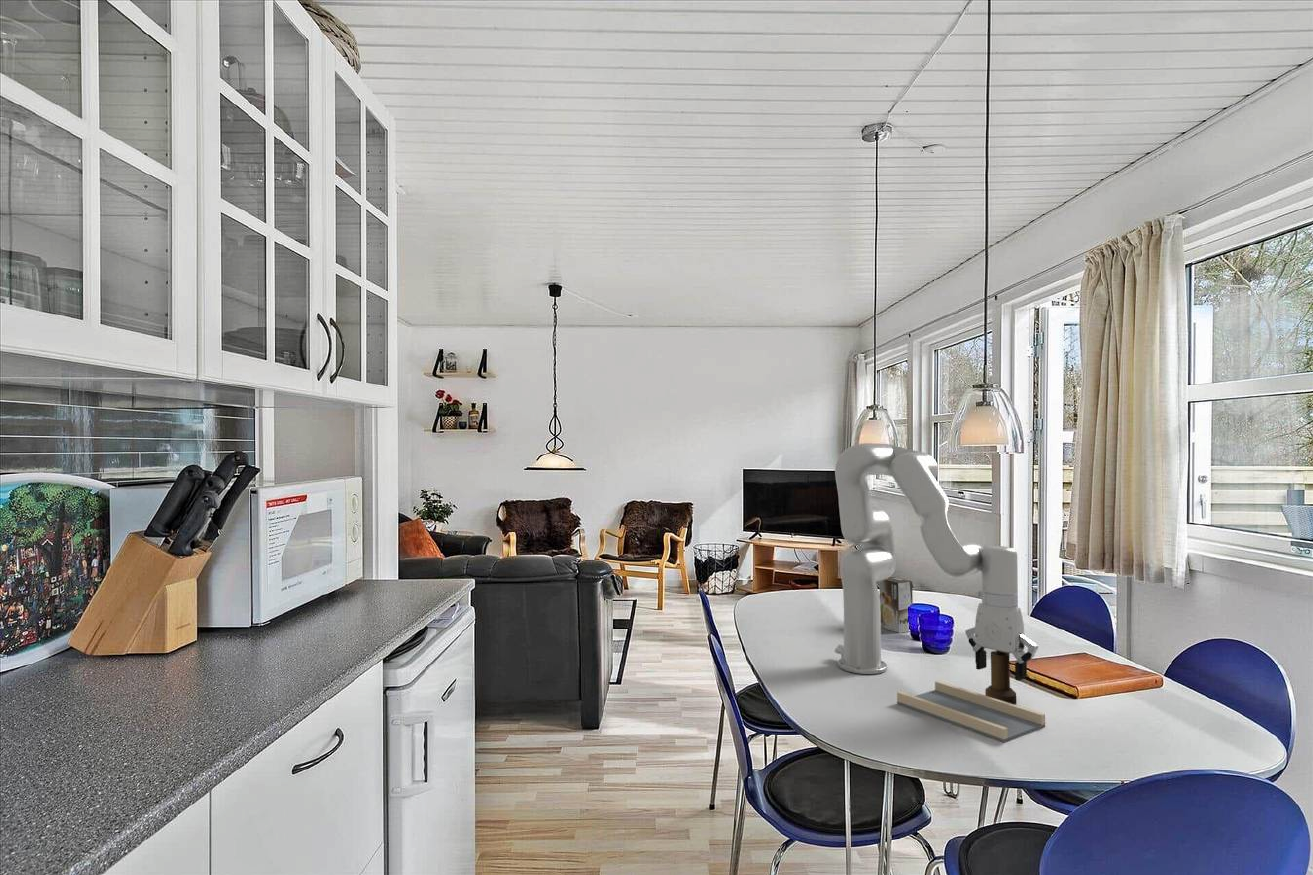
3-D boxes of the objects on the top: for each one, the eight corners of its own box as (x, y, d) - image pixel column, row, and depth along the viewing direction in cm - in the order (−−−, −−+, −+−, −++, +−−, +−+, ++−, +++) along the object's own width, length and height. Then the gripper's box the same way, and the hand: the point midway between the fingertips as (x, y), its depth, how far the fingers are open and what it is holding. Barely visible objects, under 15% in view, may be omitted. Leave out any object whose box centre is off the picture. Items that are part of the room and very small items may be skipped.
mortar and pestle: (978, 698, 170) (978, 621, 170) (1000, 694, 172) (999, 619, 172) (1001, 707, 163) (1000, 628, 164) (1023, 704, 166) (1022, 625, 166)
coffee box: (914, 631, 231) (913, 581, 231) (898, 633, 228) (898, 582, 229) (893, 624, 240) (893, 576, 240) (878, 626, 237) (878, 577, 237)
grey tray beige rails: (897, 703, 166) (897, 692, 166) (938, 691, 174) (938, 680, 174) (1004, 742, 144) (1003, 729, 144) (1045, 726, 152) (1045, 714, 152)
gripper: (956, 595, 173) (957, 666, 173) (1026, 608, 159) (1027, 687, 158) (975, 591, 177) (976, 661, 177) (1045, 604, 163) (1046, 680, 163)
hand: (1000, 673), depth 168 cm, fingers open, 9 cm apart
